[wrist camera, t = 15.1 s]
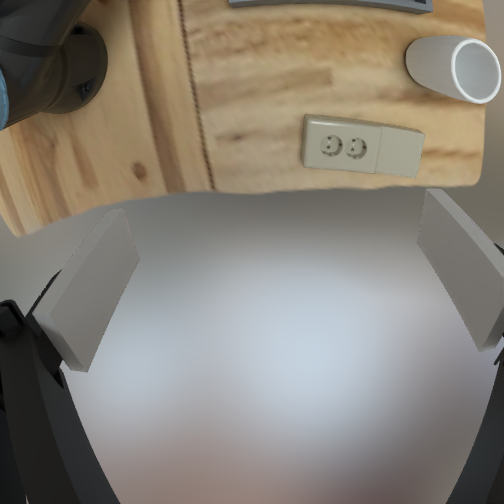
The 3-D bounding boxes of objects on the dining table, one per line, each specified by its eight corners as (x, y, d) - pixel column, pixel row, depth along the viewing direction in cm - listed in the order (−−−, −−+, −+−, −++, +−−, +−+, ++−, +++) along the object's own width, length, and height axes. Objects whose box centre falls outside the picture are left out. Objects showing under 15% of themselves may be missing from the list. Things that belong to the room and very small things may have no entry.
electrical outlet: (418, 180, 43) (303, 168, 44) (408, 170, 47) (300, 159, 47) (427, 135, 39) (307, 118, 40) (416, 129, 43) (304, 113, 43)
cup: (450, 87, 38) (505, 106, 26) (405, 90, 39) (453, 107, 27) (443, 36, 33) (499, 39, 21) (395, 36, 35) (443, 33, 23)
